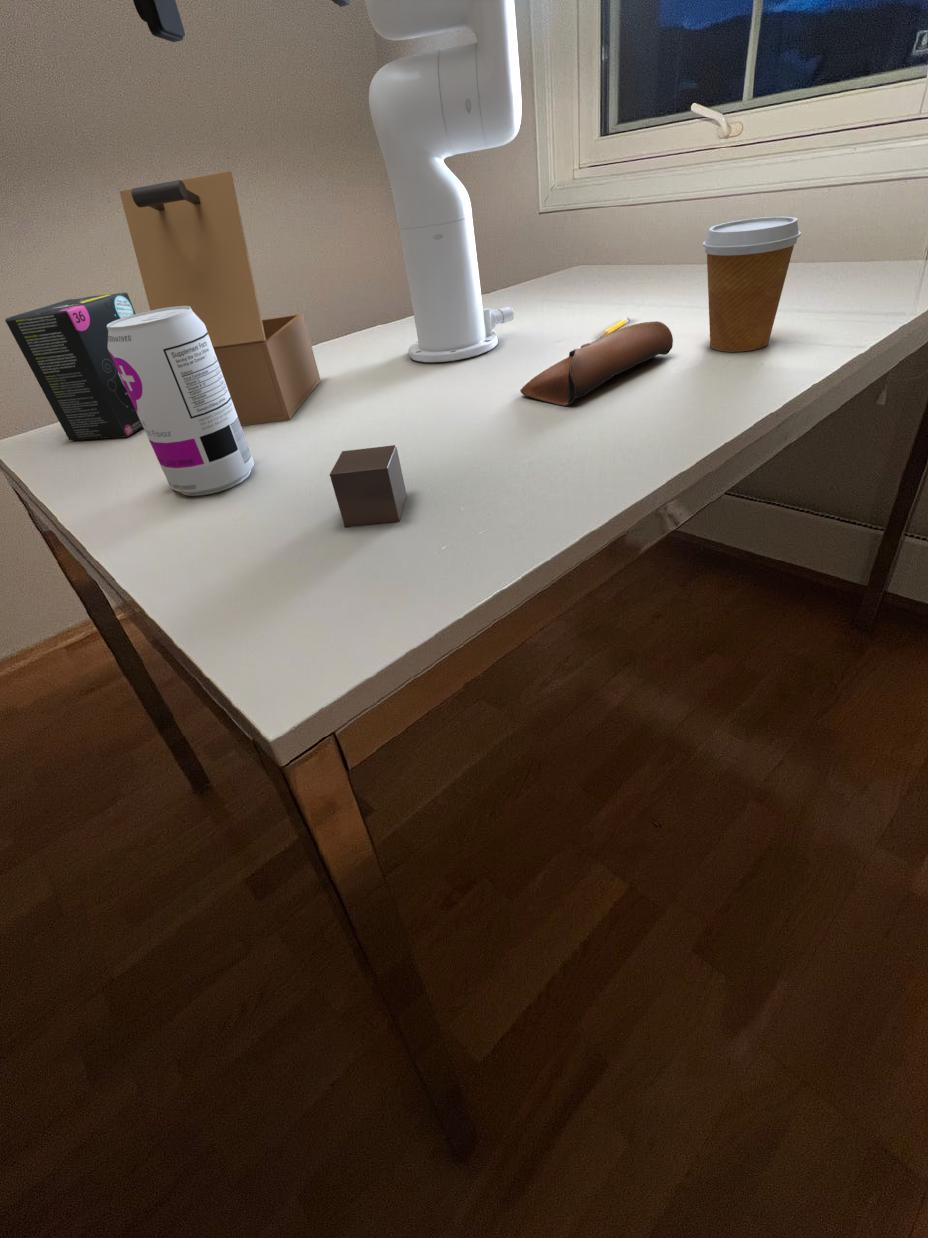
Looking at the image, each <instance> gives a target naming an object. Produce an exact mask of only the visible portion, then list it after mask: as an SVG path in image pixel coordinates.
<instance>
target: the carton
mask: <svg viewBox="0 0 928 1238" xmlns="http://www.w3.org/2000/svg"><path fill="white" fill-rule="evenodd" d="M262 323H263V328H264V332H265V337H266V341H259V342H252V343H245V344H238V345H231V346H224V347H217V348H213V349H214V352H215V354H216V357H217V360H218V363H219V366H220V368H221V371H222V374H223V377H224V380H225V382H226V385H227V388H228V391H229V394H230V396H231V399H232V402H233V405H234V408H235V410H236V413H237V416H238V419H239V422H240V424H241V427H242V426H250V425H258V424H265V423H266V424H267V423H274V422H275V423H276V422H282V421H290V420H291V419H292V418H293V416H294V415H295V414H296V413H297V411H298V410H299V409H300V408H301V407H302V405H303V404H304V402H306V400H307V399H308V398H309V396H310V395H311V394H312V393H313V392H314V390H315V389H316V388H317V387H318V385H319V384H320V383H321V381H322V380H321V376H320V372H319V368H318V364H317V362H316V356H315V353H314V350H313V347H312V343H311V339H310V335H309V332H308V328H307V324H306V320H305V316H304V314H303V313H298V314H297V313H295V314H289V315H283V316H275V317H270V318H262Z"/></svg>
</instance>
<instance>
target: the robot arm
mask: <svg viewBox="0 0 928 1238" xmlns="http://www.w3.org/2000/svg"><path fill="white" fill-rule="evenodd" d="M331 1H332V2H333V3H334V4H335V5H337V6H339V7H340V8H341V7H346V6H350V4H351V1H350V0H331ZM132 2H133V6H134V8H135V10H136V13H137V14H138V16H139V18H140V19H141V21H143V22H145V23H146V25H147V27H148V30H149V32H150V33H151V35H152V36H154V37H156V38H159V39H161V40H166V41H169V42H172V43H177V42H182V41H183V40H184V38H185V37H186V33H185V32H186V31H185V28H184V25H183V21H182V18H181V15H180V11H179V8H178V5H177V2H176V0H132ZM364 4H365V8H366V12H367V15H368V18H369V21H370V23H371V26H372V28H373V29H374V31H375V33H377V34H378V35H379V36H380V37H381V38H383V39H385V40H388V41H406V40H412V39H418V38H422V37H427V36H433V35H438V34H442V33H447V32H453V31H459V30H461V29H466V30H469V31H471V32H472V33H473V34H474V35H475V38H476V42H473V43H469V44H464V45H459V46H453V47H449V48H444V49H436V50H432V51H426V52H421V53H415V54H411V55H406V56H403V57H400V58H397V59H394V60H392V61H390V62H388V63H386V64H384V65H382V67H381V68H379V69H378V70H377V72H376V73H375V74H374V76H373V78H372V79H371V82H370V84H369V89H368V106H369V113H370V117H371V122H372V125H373V129H374V133H375V135H376V139H377V141H378V144H379V148H380V151H381V155H382V158H383V161H384V164H385V169H386V172H387V173H386V174H387V176H388V181H389V185H390V190H391V195H392V199H393V204H394V210H395V216H396V221H397V227H398V233H399V238H400V244H401V250H402V255H403V261H404V268H405V273H406V279H407V284H408V291H409V296H410V301H411V307H412V314H413V319H414V324H415V330H416V335H417V336H416V337H417V341H415V342H414V343H412V344H411V345H410V346H409V347H408V353H409V358H411V360H413V361H415V362H419V363H445V362H454V361H460V360H464V359H469V358H472V357H476V356H479V355H482V354H485V353H487V352H489V351H491V350H492V349H494V348H495V347H496V346H497V344H498V343H499V342H498V335H497V333H496V332H494V331H493V329H495V328H496V327H497V325H499V324H506V323H509V322H512V321H513V320H514V317H515V314H514V310H513V309H514V308H512V307H511V306H505V307H501V308H499V309H497V310H495V309H494V308H491V309H490V308H488V307H483V299H482V291H481V290H482V289H481V282H480V273H479V264H478V257H477V256H478V255H477V246H476V238H475V229H474V221H473V210H472V209H473V208H472V203H471V199H470V195H469V192H468V190H467V189H466V187H465V186H464V184H463V183H462V182H461V180H460V179H459V178H458V177H457V176H456V174H454V173H453V171H452V170H451V169H450V168H449V167H448V166H447V165H446V163H445V161H444V160H445V159H447V158H449V157H454V156H455V155H460V154H465V153H466V154H467V153H472V152H478V151H483V150H489V149H495V148H498V147H502V146H505V145H508V144H509V143H511V142H512V141H513V140H514V139H515V138H516V137H517V135H518V133H519V131H520V126H521V122H522V112H523V111H522V110H523V109H522V88H521V87H522V86H521V85H522V83H521V73H520V59H519V46H518V45H519V44H518V34H517V20H516V7H515V0H364Z"/></svg>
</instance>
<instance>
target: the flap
mask: <svg viewBox="0 0 928 1238" xmlns="http://www.w3.org/2000/svg"><path fill="white" fill-rule="evenodd" d="M236 192H237V191H236V188H235V183H234V177H233V173H232V172H231V171H230V170H227V171H223V172H216V173H211V174H206V175H201V176H194V177H189V178H183V179H178V180H172V181H167V182H161V183H155V184H149V185H144V186H139V187H134V188H129V189H123V190H119V196H120V200H121V203H122V207H123V211H124V214H125V218H126V222H127V226H128V230H129V234H130V238H131V242H132V246H133V249H134V253H135V257H136V261H137V265H138V268H139V269H138V270H139V273H140V276H141V280H142V284H143V288H144V292H145V296H146V299H147V303H148V307H149V311H152V310H157V309H162V308H169V307H177V306H190V307H191V309H192V311H193V312H194V313H195V314H196V316H197V317H198V318H199V319H200V320H201V321H202V322H203V323H204V324H205V326H206V329H207V332H208V335H209V338H210V340H211V343H212V346H213V348H217V347H224V346H231V345H238V344H245V343H252V342H259V341H266V337H265V332H264V328H263V323H262V319H263V318H262V313H261V309H260V303H259V299H258V295H257V290H256V284H255V280H254V275H253V269H252V264H251V260H250V255H249V250H248V246H247V241H246V236H245V232H244V226H243V221H242V216H241V211H240V207H239V203H238V197H237V193H236Z"/></svg>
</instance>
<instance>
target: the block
mask: <svg viewBox="0 0 928 1238" xmlns="http://www.w3.org/2000/svg"><path fill="white" fill-rule="evenodd" d="M329 477H330V481H331V484H332V488H333V492H334V495H335V498H336V503H337V505H338V508H339V513H340V516H341V519H342V523H343V527H346V528H347V527H357V526H366V525H367V526H368V525H376V524H385V523H397V522H400V520H401V517H402V515H403V511H404V508H405V507H404V506H405V503H406V500H407V497H408V494H407V490H406V484H405V481H404V475H403V470H402V466H401V462H400V456H399V451H398V447H397V445H396V444H394V445H393V444H391V445H384V446H376V447H375V446H374V447H367V448H358V449H350V450H349V449H348V450H342V451H341V453H340V455H339V456H338V458H337V460H336V461H335V464H334V465H333V467H332V469H331V471H330V472H329Z"/></svg>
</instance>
